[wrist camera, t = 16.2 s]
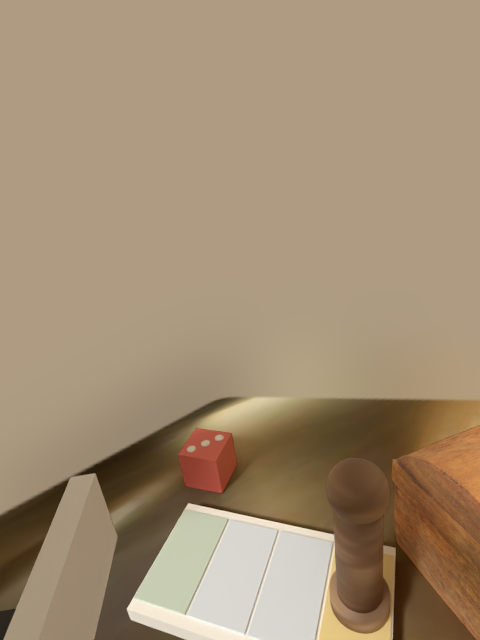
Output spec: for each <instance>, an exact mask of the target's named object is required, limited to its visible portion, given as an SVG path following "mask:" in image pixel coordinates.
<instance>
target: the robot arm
mask: <svg viewBox="0 0 480 640" xmlns="http://www.w3.org/2000/svg"><path fill="white" fill-rule="evenodd" d="M116 541H117V534H116V531H115V528H114V525H113V522H112V519H111V517H110V514H109V511H108V508H107V505H106V502H105V499H104V497H103V494H102V491H101V488H100V485H99V482H98V479H97V477H96V474H95V473H94V474H88V475H81V476H75V477H70V480H69V482H68V485H67V487H66V489H65V492H64V494H63V497H62V499H61V502H60V504H59V506H58V509H57V511H56V514H55V516H54V518H53V521H52V523H51V526H50V528H49V531H48V533H47V535H46V538H45V540H44V543H43V545H42V547H41V550H40V552H39V555H38V557H37V560H36V562H35V564H34V567H33V569H32V572H31V574H30V576H29V579H28V581H27V584H26V586H25V589H24V591H23V593H22V596H21V598H20V601H19V603H18V605H17V608H16V609H12V610H6V611H0V640H94V637H95V633H96V628H97V624H98V620H99V615H100V611H101V607H102V602H103V598H104V594H105V589H106V585H107V580H108V576H109V572H110V567H111V563H112V559H113V554H114V550H115V546H116Z"/></svg>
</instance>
